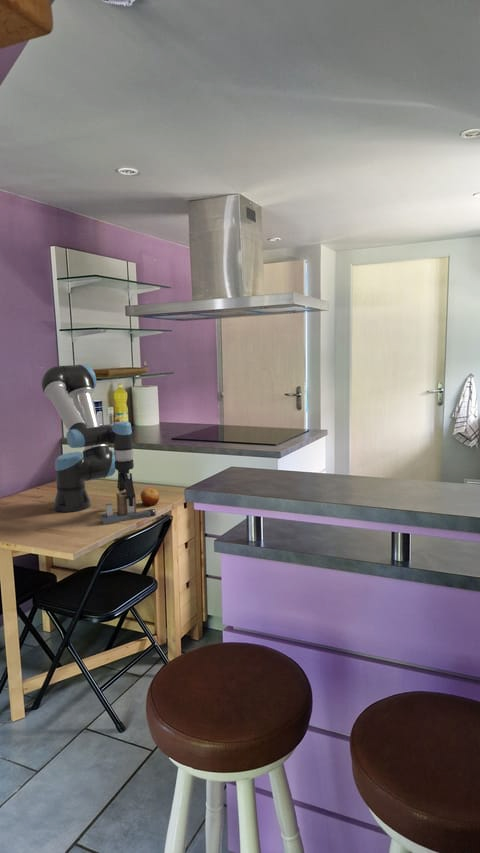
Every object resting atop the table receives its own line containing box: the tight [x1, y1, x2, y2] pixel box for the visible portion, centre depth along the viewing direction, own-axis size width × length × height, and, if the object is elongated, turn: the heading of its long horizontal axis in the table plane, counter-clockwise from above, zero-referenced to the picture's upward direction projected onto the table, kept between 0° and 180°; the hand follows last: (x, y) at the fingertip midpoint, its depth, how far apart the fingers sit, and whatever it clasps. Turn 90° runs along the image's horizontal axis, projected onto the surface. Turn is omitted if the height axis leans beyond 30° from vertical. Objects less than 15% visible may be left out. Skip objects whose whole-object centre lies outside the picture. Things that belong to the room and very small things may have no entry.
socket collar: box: [116, 492, 137, 514], centre depth 224 cm, size 6×6×8 cm
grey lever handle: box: [100, 503, 157, 526], centre depth 216 cm, size 5×22×7 cm, turn 116°
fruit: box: [140, 487, 160, 507], centre depth 236 cm, size 8×8×8 cm
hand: (127, 509), depth 224 cm, fingers open, 13 cm apart
